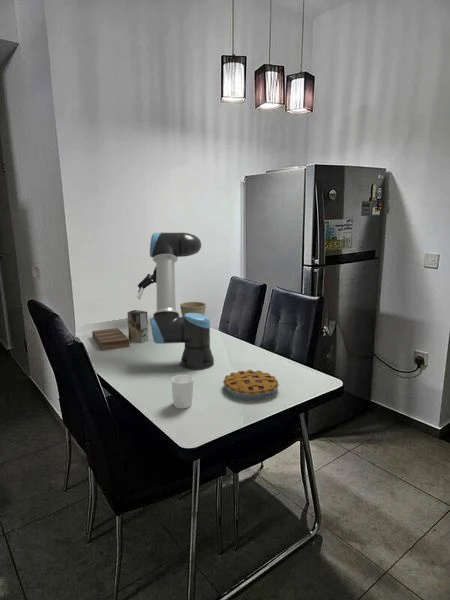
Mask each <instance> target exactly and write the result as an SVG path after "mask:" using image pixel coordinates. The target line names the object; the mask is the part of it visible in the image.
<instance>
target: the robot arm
mask: <svg viewBox="0 0 450 600" xmlns="http://www.w3.org/2000/svg"><path fill="white" fill-rule="evenodd" d="M150 237H151V238H150V244H149V245H150V246H149V256H150V258H152V261H153V262H154V263H155V267H154V270H153V271H152V273H153V274H150V273H147V275H146V276H145V277H144V278H143V279H142V280H141V281H140V282H139V283H138V284H137V287H138V291H137V295H136V297H137V299H138V300H141V299H142V296H143V293H144V292H145V289H146V288H147V287H148V286H150V285H151V284H152V285H153V284H156V311H154V312H153V314H152V315H153V317H151V318H150V319H149V320H150V328H151V333H152V339H153V342H154V343H155V344H158V345H159V344H162V345H165V344H184V349H183V351H182V355H181V359H180V365H181V366H182V367H184V369H185V368H186V369H189V370H190V369H191V370H204V369H208V368H211V367H213V365H214V364H215V360H214V355H213V353H212V349H211V323H210V322H211V321H210V318H209V317H208V316H207V315H205V314H204V315H203V314H198V313H186V314H185V315H184V317H182V316H181V317H180V313H179V312H178V311H177V310H176V279H175V278H176V271H175V270H176V269H175V263H176V262H178V258H181V257H182V258H185V257H189V256H193V255H196V254H198V253H199V252H200V250H201V248H202V242H201V239H200V238H199V237H198V236H196V235H195V234H192V233H188V232H163V231H162V232H154V233H153V234H152V235H151V236H150Z"/></svg>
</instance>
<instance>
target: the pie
mask: <svg viewBox="0 0 450 600" xmlns="http://www.w3.org/2000/svg"><path fill="white" fill-rule="evenodd" d="M222 382H223V385H224V387H225V388H226V390H227V392H228V393H229V394H230V395H231V396H232V397H235V398H236V399H239V400H243V401H244V400H246V401H256V400H263V398H264V399H267V398H266V397H268V398H270V397H271V395H272V396H274V394H275V392H276V390H278V388H279V386H280V384H279V382H278V379H276V377H275V376H274V375H271V374H270V373H268V372H263V371H262V370H256V371H255V370H252V369H248V370H247V371H246V370H245V371H244V370H237V372H230V373H229V374H228V375H225V377H224V379H223V381H222ZM269 396H270V397H269Z"/></svg>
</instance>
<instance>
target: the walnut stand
mask: <svg viewBox="0 0 450 600" xmlns="http://www.w3.org/2000/svg"><path fill="white" fill-rule="evenodd" d="M91 333H92V335H91V336H92V339H93V341H94V342H95V343H96V345H97V346H98V347H99V349H100V350H101V351H102V352H103V351H109V350H116V349H123V348H129V347H130V341H129V337H128V336H127V335H126V334H124V333H123V331H122V330H120V329H119V328H118V327H113V328H105V329H97V330H92V332H91Z"/></svg>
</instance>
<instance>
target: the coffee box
mask: <svg viewBox="0 0 450 600" xmlns="http://www.w3.org/2000/svg"><path fill="white" fill-rule="evenodd" d="M126 314H127V327H128V339H129V342H135V343H139V344H140V343H141V344H142V343H145V342H147V341H149V328H148V327H149V326H148V325H149V323H148V311H145V310H137V309H133V310H130V311H127V313H126Z"/></svg>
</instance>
